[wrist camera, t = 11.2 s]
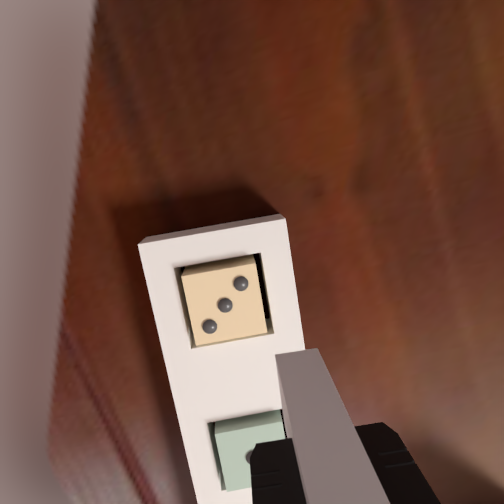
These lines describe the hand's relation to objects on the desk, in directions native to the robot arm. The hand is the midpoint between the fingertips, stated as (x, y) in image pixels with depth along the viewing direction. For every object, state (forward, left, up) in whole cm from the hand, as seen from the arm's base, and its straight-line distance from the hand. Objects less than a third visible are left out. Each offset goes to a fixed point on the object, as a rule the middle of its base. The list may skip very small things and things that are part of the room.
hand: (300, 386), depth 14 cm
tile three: (+1, -3, -17) cm, 17 cm away
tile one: (+13, -3, -17) cm, 21 cm away
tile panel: (+13, -3, -17) cm, 22 cm away
